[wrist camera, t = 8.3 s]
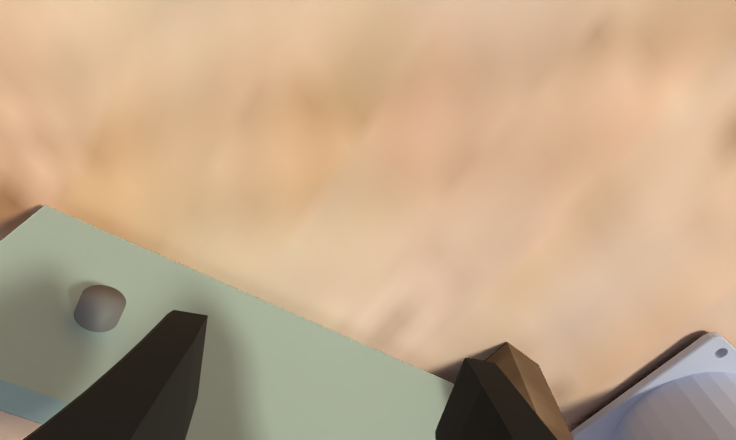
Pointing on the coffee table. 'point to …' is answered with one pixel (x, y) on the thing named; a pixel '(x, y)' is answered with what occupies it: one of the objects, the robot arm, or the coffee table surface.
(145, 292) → the door
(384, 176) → the coffee table surface
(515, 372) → the door frame
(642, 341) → the coffee table surface
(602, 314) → the coffee table surface
